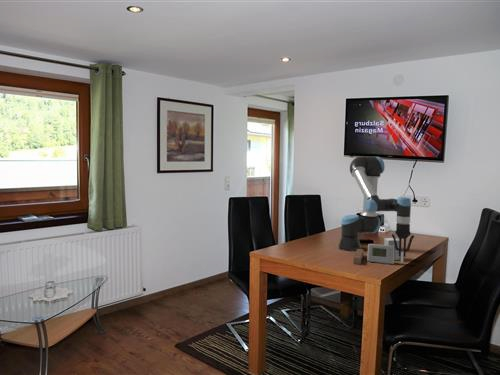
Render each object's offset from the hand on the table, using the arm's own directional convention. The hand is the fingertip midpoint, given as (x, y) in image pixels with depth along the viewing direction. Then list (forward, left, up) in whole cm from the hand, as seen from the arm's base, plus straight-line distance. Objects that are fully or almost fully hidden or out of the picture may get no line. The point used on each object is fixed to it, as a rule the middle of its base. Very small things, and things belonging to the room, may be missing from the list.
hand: (401, 261), depth 238 cm
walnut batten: (-2, -25, -1) cm, 25 cm away
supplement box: (-12, -6, -2) cm, 14 cm away
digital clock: (0, -12, -2) cm, 12 cm away
